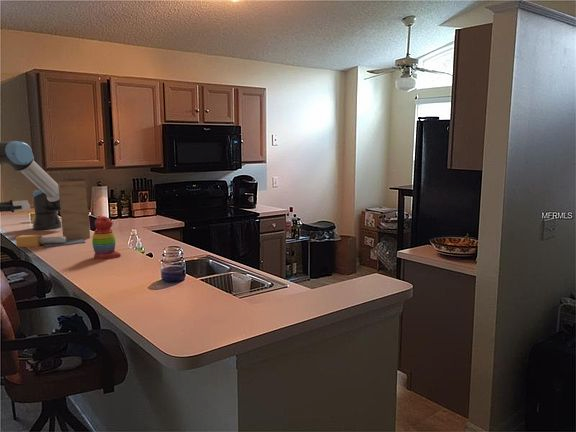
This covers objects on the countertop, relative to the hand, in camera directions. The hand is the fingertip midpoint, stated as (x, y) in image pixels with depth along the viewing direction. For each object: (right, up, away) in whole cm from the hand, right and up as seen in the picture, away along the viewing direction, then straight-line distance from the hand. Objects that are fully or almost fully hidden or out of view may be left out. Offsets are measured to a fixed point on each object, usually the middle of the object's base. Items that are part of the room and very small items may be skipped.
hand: (29, 204), depth 226 cm
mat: (+12, -19, +10) cm, 25 cm away
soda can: (+11, -15, +34) cm, 39 cm away
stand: (+13, -17, +22) cm, 30 cm away
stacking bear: (+44, -23, -20) cm, 54 cm away
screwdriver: (+2, -15, +6) cm, 16 cm away
